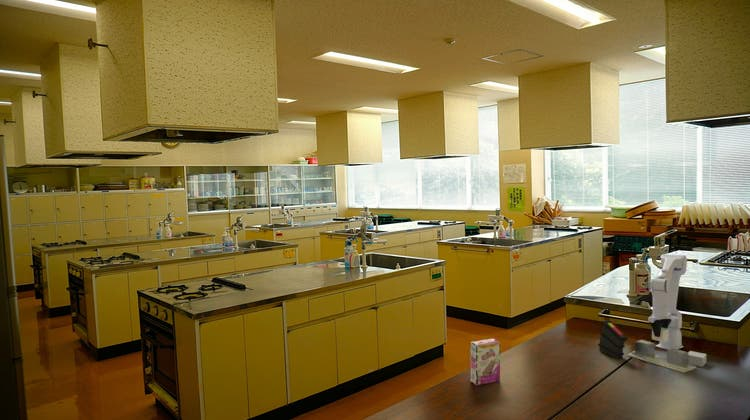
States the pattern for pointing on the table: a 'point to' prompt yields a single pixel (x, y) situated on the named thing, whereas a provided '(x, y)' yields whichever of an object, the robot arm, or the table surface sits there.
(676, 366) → the rail panel
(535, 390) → the table surface
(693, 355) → the block
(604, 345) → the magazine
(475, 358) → the candy bar box
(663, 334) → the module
